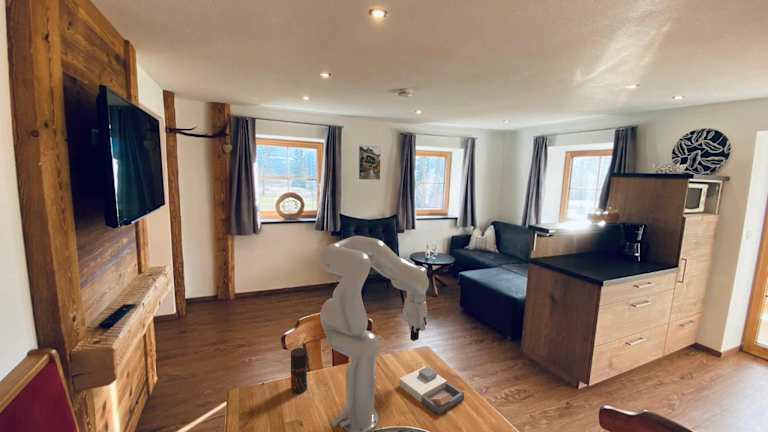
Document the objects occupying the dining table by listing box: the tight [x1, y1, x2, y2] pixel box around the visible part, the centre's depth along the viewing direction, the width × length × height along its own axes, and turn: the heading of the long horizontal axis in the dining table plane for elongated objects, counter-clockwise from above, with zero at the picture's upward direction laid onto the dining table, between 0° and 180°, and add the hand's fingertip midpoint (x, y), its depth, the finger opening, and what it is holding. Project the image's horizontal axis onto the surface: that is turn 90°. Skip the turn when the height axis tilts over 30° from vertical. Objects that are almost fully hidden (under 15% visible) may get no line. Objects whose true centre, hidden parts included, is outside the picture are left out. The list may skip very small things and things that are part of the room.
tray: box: [421, 381, 465, 416], centre depth 124 cm, size 14×8×2 cm, turn 129°
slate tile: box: [419, 366, 438, 381], centre depth 134 cm, size 5×5×2 cm
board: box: [398, 365, 448, 403], centre depth 132 cm, size 14×12×3 cm
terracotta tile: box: [431, 394, 451, 405], centre depth 121 cm, size 5×5×2 cm
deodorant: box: [290, 347, 308, 395], centre depth 127 cm, size 6×6×15 cm
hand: (414, 339), depth 139 cm, fingers closed
